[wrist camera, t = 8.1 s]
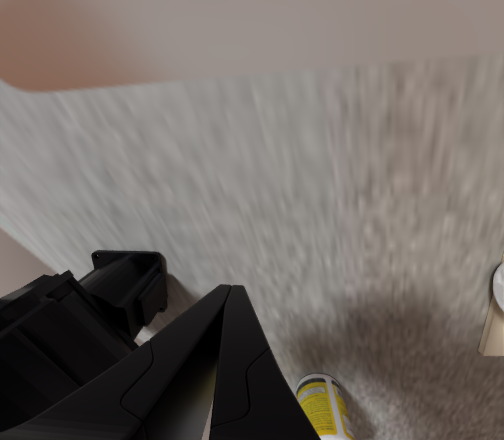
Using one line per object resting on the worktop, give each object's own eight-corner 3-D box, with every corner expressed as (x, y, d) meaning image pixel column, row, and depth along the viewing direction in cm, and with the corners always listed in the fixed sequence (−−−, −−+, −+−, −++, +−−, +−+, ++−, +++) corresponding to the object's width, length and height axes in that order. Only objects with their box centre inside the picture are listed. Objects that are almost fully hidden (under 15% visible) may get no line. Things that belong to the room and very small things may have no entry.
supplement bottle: (289, 395, 28) (297, 498, 20) (306, 366, 26) (322, 464, 18) (328, 408, 28) (351, 515, 20) (347, 380, 27) (381, 484, 19)
